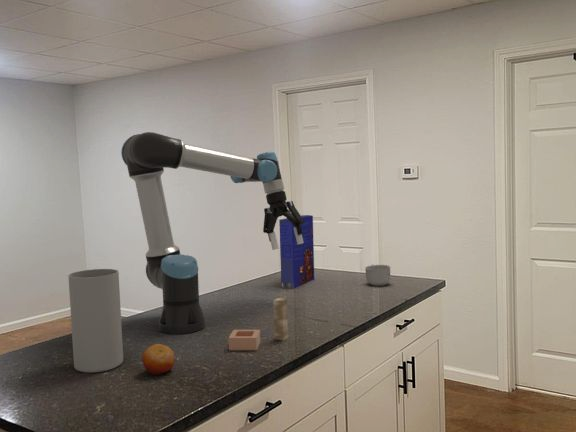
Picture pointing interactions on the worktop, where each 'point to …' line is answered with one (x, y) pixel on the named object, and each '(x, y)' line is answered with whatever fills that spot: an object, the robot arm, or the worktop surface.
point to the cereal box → (296, 253)
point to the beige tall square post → (280, 319)
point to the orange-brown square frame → (244, 340)
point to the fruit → (158, 359)
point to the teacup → (378, 274)
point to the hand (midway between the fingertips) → (287, 246)
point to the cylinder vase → (96, 320)
